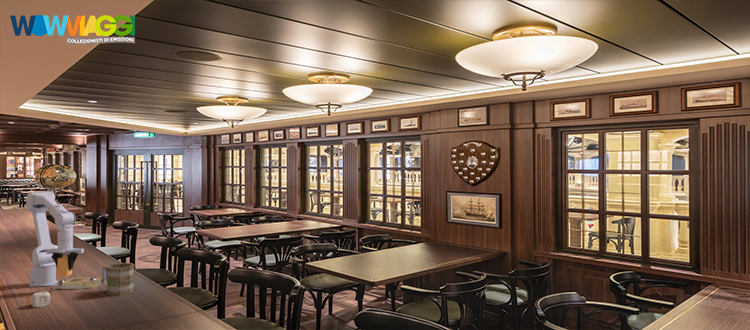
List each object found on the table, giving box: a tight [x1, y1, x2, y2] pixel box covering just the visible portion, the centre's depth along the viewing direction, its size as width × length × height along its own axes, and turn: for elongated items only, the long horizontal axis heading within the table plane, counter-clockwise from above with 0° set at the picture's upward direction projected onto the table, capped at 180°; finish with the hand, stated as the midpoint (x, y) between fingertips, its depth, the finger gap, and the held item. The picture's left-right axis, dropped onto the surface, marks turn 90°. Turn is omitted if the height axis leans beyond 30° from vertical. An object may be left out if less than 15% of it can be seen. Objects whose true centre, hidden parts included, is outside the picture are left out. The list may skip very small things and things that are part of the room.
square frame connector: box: [51, 276, 102, 290], centre depth 204 cm, size 18×8×4 cm, turn 100°
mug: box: [102, 262, 135, 297], centre depth 197 cm, size 16×11×12 cm
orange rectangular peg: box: [57, 256, 73, 277], centre depth 198 cm, size 4×4×8 cm
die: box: [31, 291, 51, 308], centre depth 178 cm, size 5×5×5 cm
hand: (65, 269), depth 198 cm, fingers closed on orange rectangular peg, 4 cm apart
